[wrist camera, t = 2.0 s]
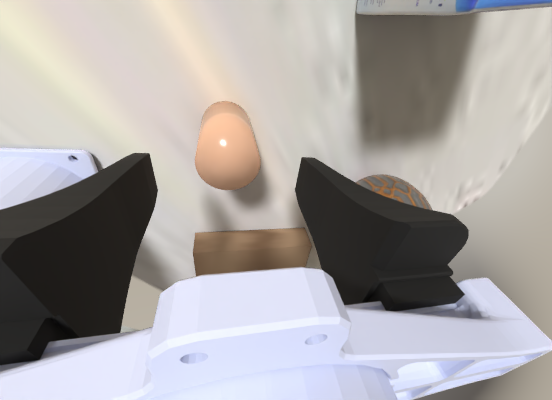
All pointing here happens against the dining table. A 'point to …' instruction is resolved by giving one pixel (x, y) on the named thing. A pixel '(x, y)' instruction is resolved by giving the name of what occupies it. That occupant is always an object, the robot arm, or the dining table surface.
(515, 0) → the medicine box
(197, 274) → the brown wooden box
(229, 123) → the peach rounded cylinder
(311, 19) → the dining table surface
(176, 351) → the robot arm
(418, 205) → the vase
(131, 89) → the dining table surface
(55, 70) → the dining table surface
